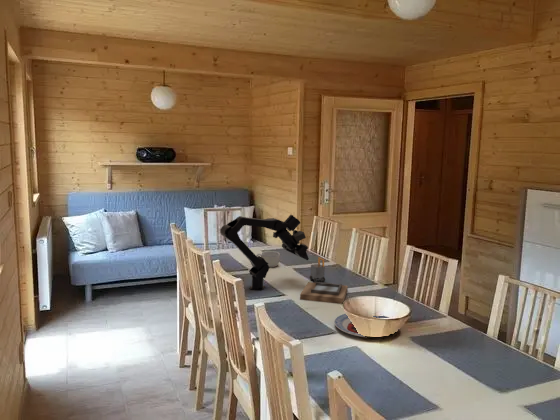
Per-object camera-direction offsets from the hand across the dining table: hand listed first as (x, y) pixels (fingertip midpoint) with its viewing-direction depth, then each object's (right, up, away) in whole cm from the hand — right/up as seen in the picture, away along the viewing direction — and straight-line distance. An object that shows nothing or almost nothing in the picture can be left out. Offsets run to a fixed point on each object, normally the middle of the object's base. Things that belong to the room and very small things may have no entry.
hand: (303, 257), depth 249 cm
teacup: (-20, -8, +32) cm, 39 cm away
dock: (+9, -16, -18) cm, 26 cm away
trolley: (+7, -13, +4) cm, 15 cm away
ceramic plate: (+22, -23, -58) cm, 66 cm away
